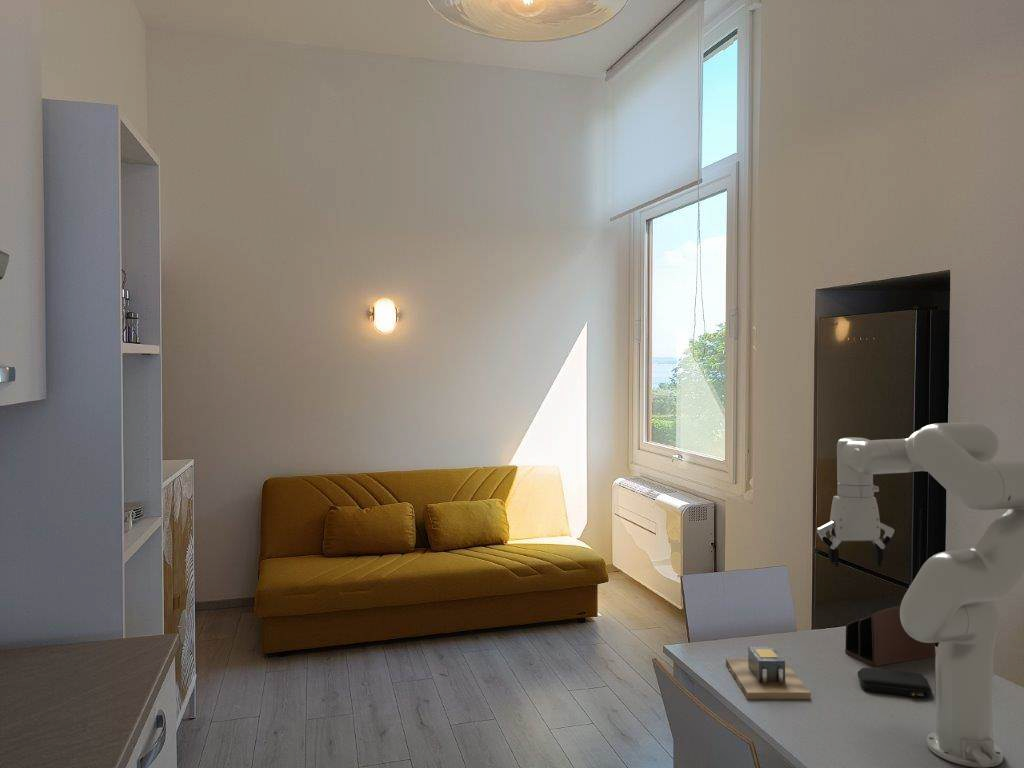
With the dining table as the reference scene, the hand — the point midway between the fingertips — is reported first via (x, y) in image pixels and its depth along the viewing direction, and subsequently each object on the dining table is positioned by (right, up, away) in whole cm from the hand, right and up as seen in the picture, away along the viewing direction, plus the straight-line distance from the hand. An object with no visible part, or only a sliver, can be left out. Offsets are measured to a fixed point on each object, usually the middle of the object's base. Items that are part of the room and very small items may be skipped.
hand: (855, 564), depth 175 cm
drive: (-19, -27, +4) cm, 34 cm away
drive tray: (-19, -29, +4) cm, 35 cm away
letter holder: (+18, -28, +19) cm, 38 cm away
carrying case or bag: (+8, -29, -1) cm, 30 cm away
